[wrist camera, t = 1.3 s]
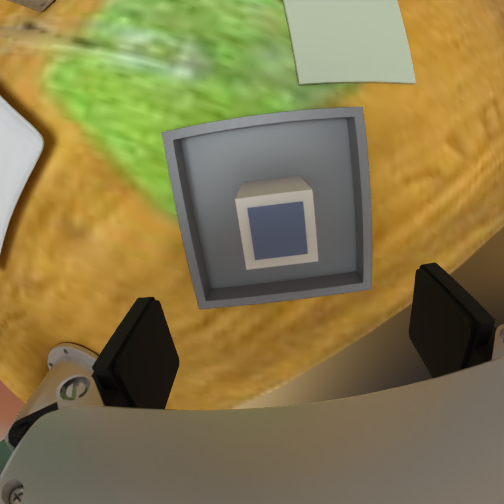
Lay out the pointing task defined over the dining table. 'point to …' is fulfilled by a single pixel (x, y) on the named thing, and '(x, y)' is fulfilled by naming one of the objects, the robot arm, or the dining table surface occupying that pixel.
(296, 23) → the mat
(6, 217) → the salad plate
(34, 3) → the decorative jar
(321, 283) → the bin
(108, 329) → the dining table surface
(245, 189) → the labelled box
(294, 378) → the dining table surface
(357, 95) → the dining table surface
